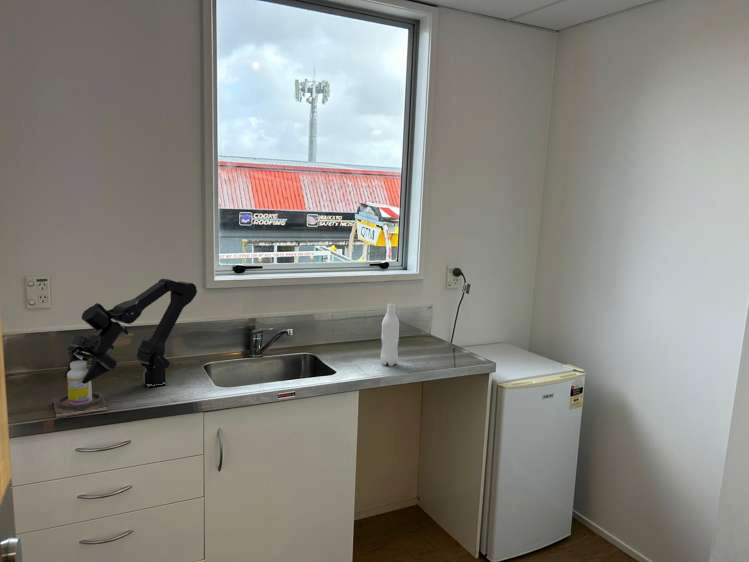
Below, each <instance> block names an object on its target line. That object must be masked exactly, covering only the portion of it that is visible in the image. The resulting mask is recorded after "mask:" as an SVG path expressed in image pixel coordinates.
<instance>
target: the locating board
mask: <svg viewBox="0 0 749 562" xmlns="http://www.w3.org/2000/svg"><path fill="white" fill-rule="evenodd" d="M53 403H54V406H53V408H54V407H55V411H54V413H55V412H56V414H63V413H71V412H77V411H85V410H90V409H98V408H103V407H109V406H108V404H107V401H106V400H105V397H104V395H103V393H102V391H100V392H96V391H92V401H91V402H89V403H87V404H81V405H71V404H69V400H68V394H65V395H62V396H60V397H57V398H52V404H53Z"/></svg>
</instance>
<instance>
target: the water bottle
mask: <svg viewBox="0 0 749 562" xmlns="http://www.w3.org/2000/svg"><path fill="white" fill-rule="evenodd" d="M399 332H400V321H399V318H398V316H397V314H396V304H395V303H392V302H391V303H387V308H386V313H385V315H384V317H383V320H382V321H381V336H380V340H381V351H380V361H381V362H380V363H382V365H384V366H386V365H387V364H388V366H389V367H392V366H395V365H397V363H398V360H399V352H398V346H399V345H398V344H399V340H400V335H399V334H400V333H399ZM394 364H395V365H394Z"/></svg>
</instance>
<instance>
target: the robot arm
mask: <svg viewBox="0 0 749 562" xmlns="http://www.w3.org/2000/svg"><path fill="white" fill-rule="evenodd" d="M168 292H170V294H169V295H170V302H169V305H168V306H167V308H166V310H165V311H164V313H163V315H162V317H161V319H160V321H159V323H158V325H156V326H157V327H156V328H155V330H154V332H153V334H152V336H151V338H149V339H147V340H146V339H143V340H142V341H141V342H140V343H141V344H140V345H139V347H138V348H137V350H136V351H137V354H136V357H137V360H138V362H139V363H140V365H141V367H144V371H143V372H142V373H143V375H142V376H143V379H142V380H143V384H144V385H145V384H152V385H154V384H155V385H156V384H162V383H163V382H166V369H169V366H170V361H169V360H168V359H167V358H166V357H165V356H164V355H165V354H166V342H167V340H168V338H169V336H170V334H171V332H172V330H173V329H174V327H175V325H176V323H177V321H178V319H179V317H180V315H181V313H182V311H183V309H185V307H186V306H187V305H189V304H190V303H192V301H194V298H195V297H196V296H197V293H198V290H197V287H196V285H195V284H194V283H193V282H186V281H182V280H180V281H176V280H173V279H170V278H160V279H159V280H158V282H156V283H154V284H153V285H152V286H150V287H149V288H147V289H145V291H143V292H141V293H139V295H137V296H136V297H134V298H132V299H129V300H126V301H122V302H121V303H118V304H116V305H114V306H113V307H112V308H111V309H106V308H104V306H103V305H102V304H101V303H98V302H96V303H95V304H94V305H92V306H90V307H88V308H87V309H85V310H84V311H83V312H82V314H81V320H82V321H84V322H85V323H86V324H87V325H89V326H90V327H91V328H93V329H94V330H95V331H99V332H98V333H97V334H95V335H94V334H88V335H87V336H83V335H80V334H76V333H74V336H73V339H72V341H71V342H70V343H71V344H70V345H69V346H68V347H67V349H66V352H67V354H68V357H69V361H68V362H69V363H68V365H67V368H66V371H65V373H64V377H65V378H66V379H67V373H68V372H69V371H70V370H71V368H70V363H71V362H74V361H87V362H88V360H91V365H90V366H91V367H90V368H89V371H88V372H87V374H86V376H85V377H84V379H83V381H82V383H84V384H86V383H87V382H89V381H91V382H92V380H95V378H97V377H98V378H99V376H102V375H103V374H105V373H108V372H110V371H114V370H115V368H116V367H117V365H118V362H117V360H116V359H114V357H112V356H111V355H109V354H108V352H109V351H110V350H114V348H115V346H114V344H115V342H116V341H117V340H118V338H119V337H120V336H121V334H122V335H126V336H127V335H129V330H128V326H127V325H130V324H133V323H134V322H135V321H136V320H138V318H140V316H141V315H142V313H143V311H144V310H145V309H146V308H147V307H149V306H150V305H152V304H153V303H154V302H156V301H157V300H159V299H161V298H162V297H163V296H164V295H166V294H168ZM113 320H114V321H113ZM121 323H123V324H127V325H122V324H121ZM166 383H167V382H166Z"/></svg>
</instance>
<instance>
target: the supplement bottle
mask: <svg viewBox="0 0 749 562" xmlns="http://www.w3.org/2000/svg"><path fill="white" fill-rule="evenodd" d="M87 367H88V360H87V361H74V362H71V363H70V368H71V370H70V371H69V372H68V373H67V378H66V381H67V395H68V400H69V404H71V405H81V404H87V403H89V402H91V401H92V392H93V389H92V386H93V385H92V380H91V381H89V382H87V383H86V384H84V383H82V381H83V379H84V377H85V376H86V374H87V372H88V371H89V369H90V368H89V369H88V368H87Z"/></svg>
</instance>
